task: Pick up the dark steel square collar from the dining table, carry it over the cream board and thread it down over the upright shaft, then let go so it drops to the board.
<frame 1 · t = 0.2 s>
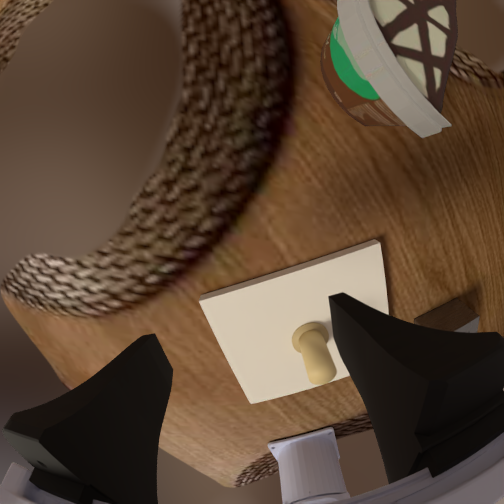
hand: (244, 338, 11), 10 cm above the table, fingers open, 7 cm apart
food container: (345, 57, 16), on the table
collar: (435, 329, 23), on the table
shaft board: (307, 331, 22), on the table
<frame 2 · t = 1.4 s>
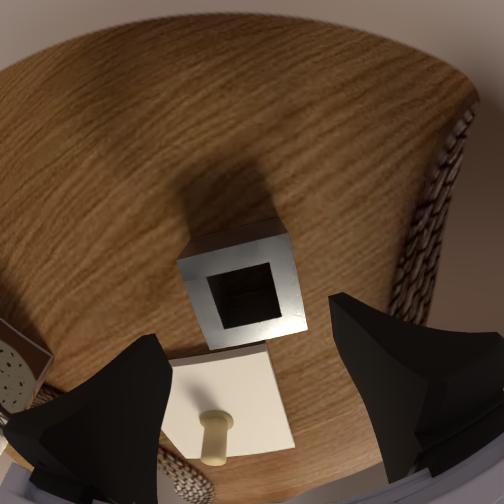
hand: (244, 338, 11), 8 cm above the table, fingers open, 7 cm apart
food container: (23, 352, 21), on the table
collar: (245, 269, 18), on the table
shaft board: (217, 412, 22), on the table
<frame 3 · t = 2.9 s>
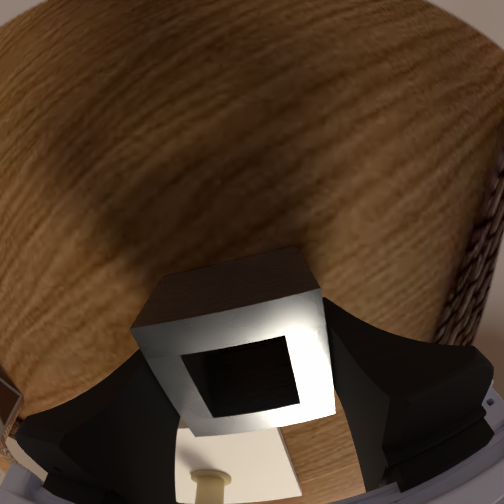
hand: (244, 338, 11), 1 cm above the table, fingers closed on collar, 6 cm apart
collar: (244, 319, 12), on the table, touching gripper
shaft board: (212, 466, 16), on the table
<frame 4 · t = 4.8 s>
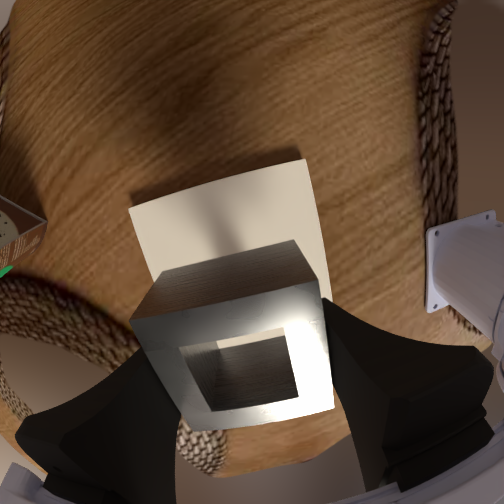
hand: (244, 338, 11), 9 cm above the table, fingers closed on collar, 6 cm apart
food container: (13, 233, 19), on the table
collar: (243, 314, 12), point 8 cm above the table, touching gripper
shaft board: (241, 276, 20), on the table
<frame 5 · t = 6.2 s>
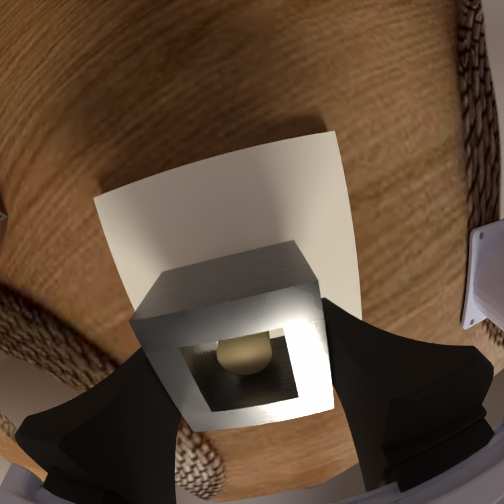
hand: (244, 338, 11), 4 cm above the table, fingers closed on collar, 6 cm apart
collar: (243, 314, 12), point 3 cm above the table, touching gripper
shaft board: (244, 290, 15), on the table
when the fingers open (4 cm above the table, at t = 7.1 s): collar drops 2 cm, resting on shaft board.
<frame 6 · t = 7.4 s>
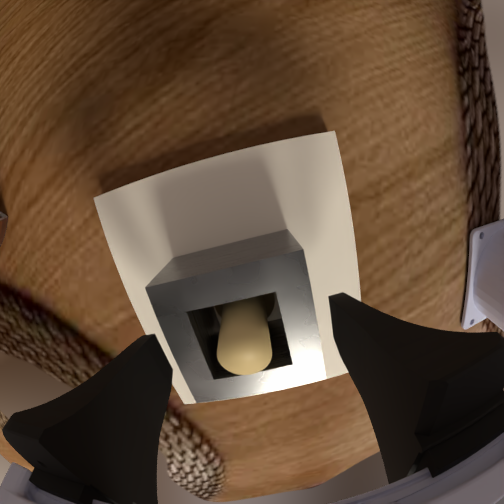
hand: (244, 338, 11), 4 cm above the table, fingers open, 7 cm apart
collar: (243, 297, 14), point 1 cm above the table, touching shaft board
shaft board: (244, 290, 15), on the table
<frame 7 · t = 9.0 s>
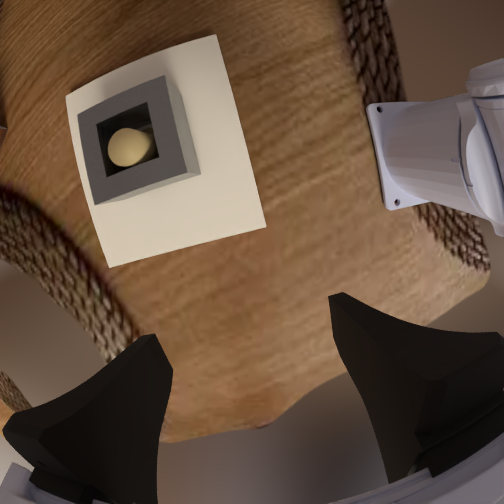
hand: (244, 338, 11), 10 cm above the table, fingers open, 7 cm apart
collar: (150, 147, 16), point 1 cm above the table, touching shaft board
shaft board: (156, 150, 18), on the table
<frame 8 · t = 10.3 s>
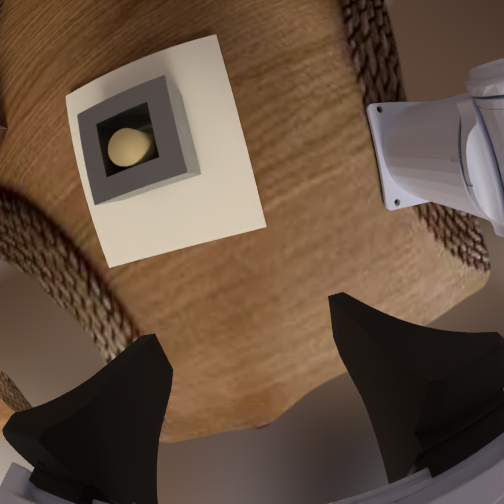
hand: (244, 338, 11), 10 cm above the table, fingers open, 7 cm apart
collar: (150, 147, 16), point 1 cm above the table, touching shaft board
shaft board: (156, 150, 18), on the table
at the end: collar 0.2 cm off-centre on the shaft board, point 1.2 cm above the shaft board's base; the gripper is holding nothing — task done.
